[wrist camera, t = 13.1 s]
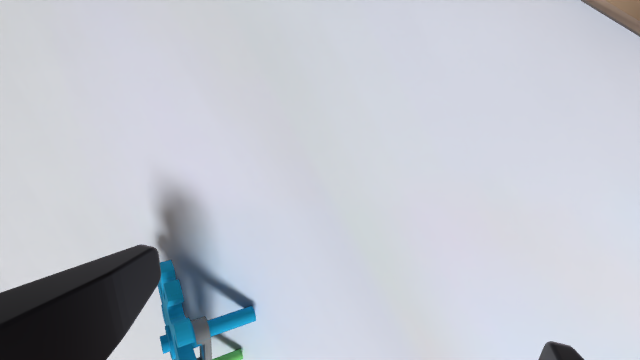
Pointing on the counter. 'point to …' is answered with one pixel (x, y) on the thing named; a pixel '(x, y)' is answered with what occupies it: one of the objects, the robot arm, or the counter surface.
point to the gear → (193, 323)
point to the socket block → (620, 12)
